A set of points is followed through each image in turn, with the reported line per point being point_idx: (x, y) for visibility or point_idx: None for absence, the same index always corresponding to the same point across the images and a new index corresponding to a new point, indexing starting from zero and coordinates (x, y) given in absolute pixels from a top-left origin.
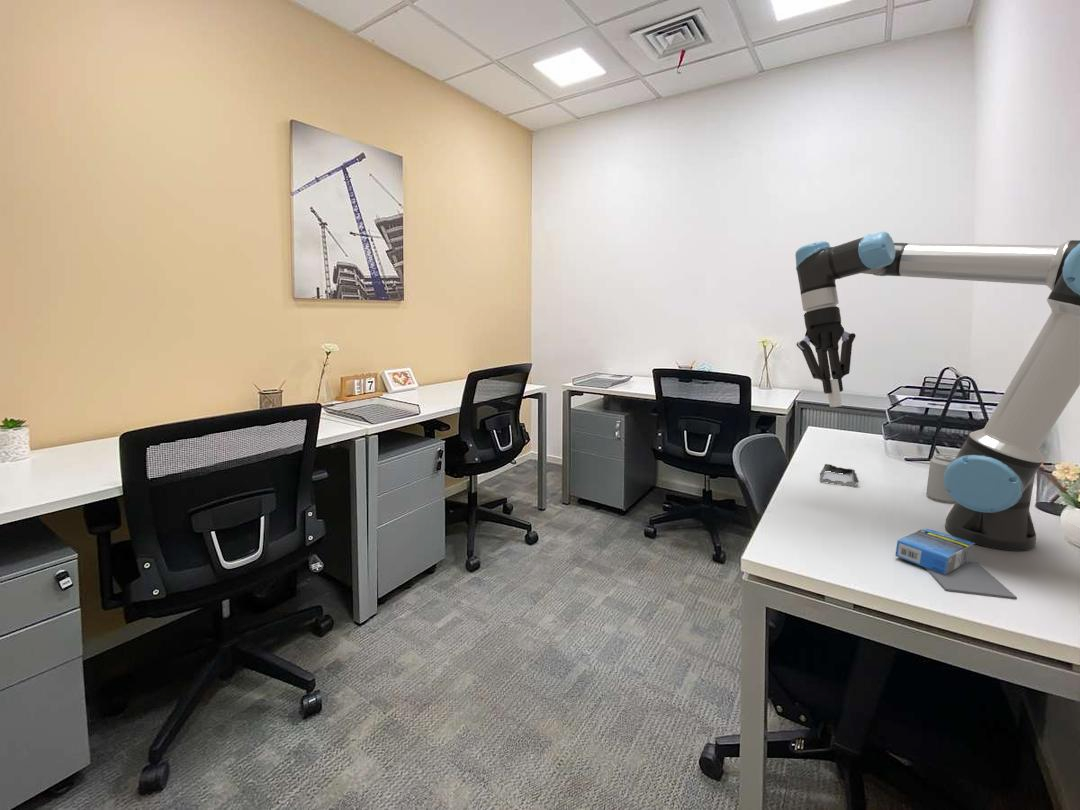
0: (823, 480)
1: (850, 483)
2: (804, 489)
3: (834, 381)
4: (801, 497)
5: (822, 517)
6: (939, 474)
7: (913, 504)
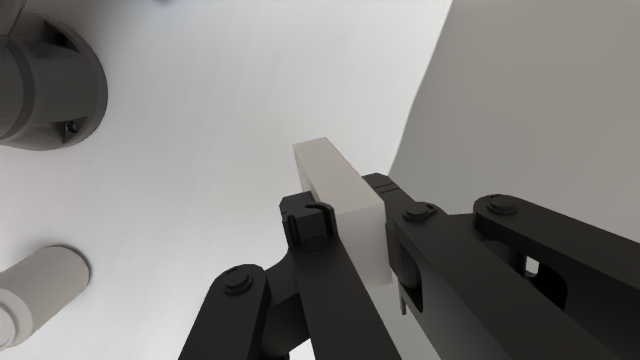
0: None
1: None
2: None
3: (353, 200)
4: None
5: (318, 110)
6: (38, 281)
7: (128, 226)
